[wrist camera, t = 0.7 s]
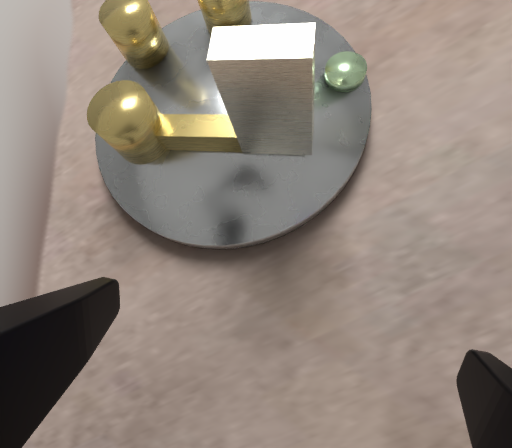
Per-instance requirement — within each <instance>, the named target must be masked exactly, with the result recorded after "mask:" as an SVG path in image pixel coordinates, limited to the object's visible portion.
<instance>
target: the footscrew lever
mask: <svg viewBox="0 0 512 448" xmlns="http://www.w3.org/2000/svg"><path fill="white" fill-rule="evenodd" d="M207 62H208V65H209V67H210V70H211V73H212V75H213V78H214V80H215V83H216V85H217V88H218V91H219V93H220V96H221V98H222V101H223V103H224V106H225V109H226V111H227V114H161V112H160V111H159V109H158V108H157V106H156V105H155V104H154V102H153V101H152V99H151V98H150V96H149V95H148V94H147V92H146V91H145V89H144V88H143V87H142V86H141V85H140V84H138V83H136V82H134V81H130V80H120V81H116V82H113V83H110V84H108V85H106V86H105V87H103V88H102V89H101V90H99V91H98V92H97V93H96V94H95V96H94V97H93V98H92V100H91V102H90V104H89V106H88V110H87V120H88V123H89V125H90V127H91V128H92V129H93V130H94V131H95V132H96V133H97V134H98V135H99V136H100V137H101V138H102V139H104V140H105V141H106V142H107V143H108V144H109V145H110V146H111V147H112V148H113V149H115V150H116V151H117V152H118V153H119V154H120V155H121V156H122V157H123V158H124V159H126V160H127V161H128V162H130V163H133V164H138V165H142V164H148V163H151V162H153V161H155V160H157V159H158V158H160V157H161V156H162V155H163V154H164V153H165V152H166V151H167V150H182V151H219V152H243V153H248V154H285V155H312V148H313V135H314V86H315V23H298V24H275V25H253V26H230V27H213V30H212V35H211V40H210V46H209V51H208V56H207Z"/></svg>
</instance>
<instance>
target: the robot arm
mask: <svg viewBox="0 0 512 448" xmlns="http://www.w3.org/2000/svg"><path fill="white" fill-rule="evenodd" d="M119 309H120V295H119V283H118V281H117V280H115V279H110V278H105V277H101V278H98V279H94V280H91V281H87V282H84V283H81V284H77V285H74V286H71V287H67V288H64V289H60V290H57V291H54V292H50V293H47V294H43V295H40V296H37V297H33V298H30V299H26V300H23V301H20V302H16V303H13V304H9V305H6V306H3V307H0V448H22V447H23V445H24V444H25V443H26V441H27V440H28V439H29V438H30V436H31V435H32V434H33V432H34V431H35V430H36V428H37V427H38V426H39V425H40V423H41V422H42V421H43V419H44V418H45V417H46V415H47V414H48V413H49V412H50V410H51V409H52V408H53V406H54V405H55V404H56V402H57V401H58V400H59V399H60V397H61V396H62V395H63V393H64V392H65V391H66V390H67V388H68V387H69V386H70V384H71V383H72V382H73V380H74V379H75V378H76V377H77V375H78V374H79V373H80V371H81V370H82V369H83V367H84V366H85V365H86V363H87V362H88V360H89V359H90V357H91V356H92V354H93V353H94V351H95V350H96V348H97V346H98V345H99V343H100V342H101V340H102V338H103V337H104V335H105V334H106V332H107V330H108V329H109V327H110V326H111V324H112V322H113V321H114V319H115V318H116V316H117V314H118V312H119ZM457 388H458V392H459V396H460V401H461V405H462V409H463V413H464V417H465V421H466V425H467V429H468V433H469V437H470V441H471V444H472V448H512V368H510V367H509V366H507V365H506V364H505V363H503V362H502V361H500V360H499V359H498V358H496V357H495V356H493V355H492V354H490V353H488V352H484V351H478V350H473V349H472V350H469V351H468V352H467V353H466V355H465V358H464V360H463V362H462V365H461V367H460V370H459V372H458V375H457Z"/></svg>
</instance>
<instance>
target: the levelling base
mask: <svg viewBox="0 0 512 448" xmlns="http://www.w3.org/2000/svg"><path fill="white" fill-rule="evenodd" d="M198 3H199V6H200V9H201V10H199V11H196V12H193V13H191V14H188V15H186V16H184V17H181V18H179V19H177V20H176V21H174V22H172V23H170V24H168V25H166V26H165V27H163V28H161V26H160V24H159V22H158V20H157V18H156V16H155V14H154V12H153V10H152V8H151V6H150V4H149V2H148V0H106V1H105V2H104V3H103V5H102V6H101V8H100V11H99V21H100V23H101V24H102V26H103V27H104V29H105V30H106V31H107V33H108V34H109V36H110V37H111V39H112V40H113V42H114V43H115V45H116V46H117V47H118V49H119V50H120V52H121V53H122V55H123V56H124V58H125V59H126V61H125V62H124V63H123V65H122V66H121V67H120V69H119V70H118V72H117V73H116V75H115V76H114V78H113V79H112V81H111V83H113V82H116V81H120V80H130V81H134V82H136V83H138V84H140V85H141V86H142V87H143V88H144V89H145V91H146V92H147V94H148V95H149V96H150V98H151V99H152V101H153V102H154V104H155V105H156V106H157V108H158V109H159V111H160V112H161V114H227V111H226V109H225V106H224V103H223V101H222V98H221V96H220V93H219V91H218V88H217V85H216V83H215V80H214V78H213V75H212V73H211V70H210V67H209V65H208V62H207V56H208V51H209V46H210V40H211V35H212V30H213V27H230V26H253V25H275V24H298V23H315V86H314V135H313V148H312V155H285V154H248V153H243V152H219V151H182V150H167V151H166V152H165V153H164V154H163V155H162V156H161V157H160V158H158V159H157V160H155V161H153V162H151V163H148V164H142V165H138V164H133V163H130V162H128V161H127V160H126V159H124V158H123V157H122V156H121V155H120V154H119V153H118V152H117V151H116V150H115V149H113V148H112V147H111V146H110V145H109V144H108V143H107V142H106V141H105V140H104V139H102V138H101V137H100V136H99V135H98V134H97V133H96V137H95V141H96V155H97V159H98V164H99V169H100V171H101V174H102V177H103V179H104V182H105V184H106V186H107V187H108V189H109V191H110V193H111V194H112V196H113V197H114V199H115V200H116V201H117V202H118V204H119V205H120V206H121V207H122V209H124V210H125V211H126V212H127V213H128V214H129V215H130V216H131V217H132V218H133V219H135V220H136V221H137V222H139V223H141V224H142V225H144V226H145V227H147V228H148V229H150V230H151V231H153V232H155V233H156V234H158V235H160V236H163V237H165V238H167V239H169V240H171V241H174V242H177V243H181V244H184V245H188V246H192V247H199V248H205V249H233V248H242V247H248V246H252V245H257V244H261V243H265V242H268V241H270V240H273V239H276V238H278V237H281V236H283V235H286V234H288V233H289V232H291V231H293V230H295V229H297V228H299V227H300V226H302V225H304V224H305V223H307V222H308V221H309V220H311V219H312V218H314V217H315V216H316V215H318V214H319V213H320V212H321V211H322V210H323V209H325V208H326V207H327V206H328V205H329V204H330V203H331V202H332V201H333V200H334V199H335V198H336V197H337V195H338V194H339V193H340V192H341V190H342V189H343V188H344V187H345V185H346V184H347V182H348V181H349V179H350V177H351V176H352V174H353V173H354V171H355V169H356V167H357V165H358V162H359V160H360V158H361V155H362V153H363V150H364V146H365V143H366V139H367V135H368V131H369V128H370V119H371V93H370V88H369V84H368V79H367V76H366V71H367V64H366V61H365V59H364V58H363V57H362V56H361V55H359V54H357V53H355V51H354V50H353V48H352V47H351V46H350V45H349V43H348V42H347V41H346V40H345V39H344V37H343V36H341V35H340V34H339V33H338V32H337V31H336V30H335V29H334V28H332V27H331V26H330V25H328V24H327V23H325V22H324V21H322V20H321V19H319V18H317V17H315V16H313V15H311V14H309V13H307V12H305V11H302V10H299V9H296V8H293V7H291V6H286V5H281V4H277V3H269V2H259V1H250V2H249V0H198Z"/></svg>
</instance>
